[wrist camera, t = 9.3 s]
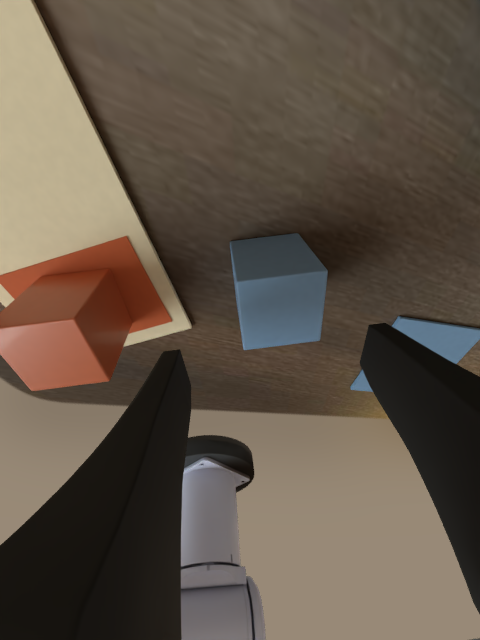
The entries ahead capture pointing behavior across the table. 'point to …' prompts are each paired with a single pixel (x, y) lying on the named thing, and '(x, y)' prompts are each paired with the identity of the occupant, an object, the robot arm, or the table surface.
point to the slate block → (278, 290)
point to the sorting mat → (67, 185)
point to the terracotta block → (65, 330)
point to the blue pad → (432, 341)
